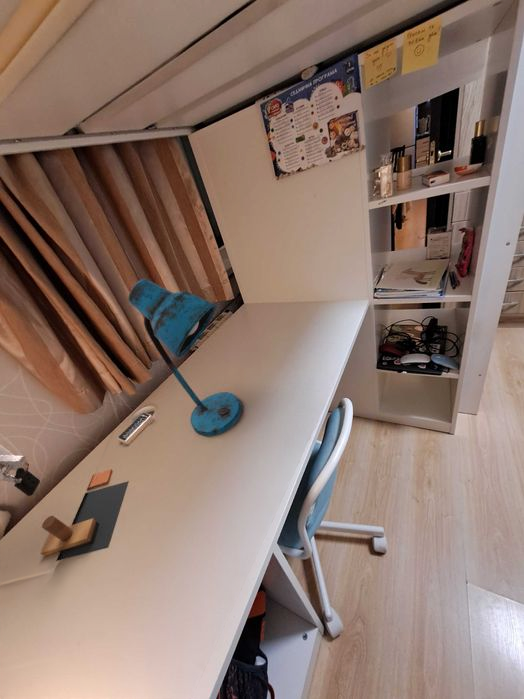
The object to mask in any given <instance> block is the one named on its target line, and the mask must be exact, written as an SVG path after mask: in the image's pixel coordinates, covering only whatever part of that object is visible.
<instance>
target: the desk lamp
mask: <svg viewBox="0 0 524 699" xmlns="http://www.w3.org/2000/svg"><path fill="white" fill-rule="evenodd" d="M127 297H128V303H129V304H130V305H131V306H133V307H134V308H135V309H136V310H137V311H138V312H139V313H140V314H142V316H144V317H143V326H144V328H145V330H146V333H147V334H148V336H149V338H150V340H151V342H152V344H153V345H154V347H155V349H156V351H157V352H158V353H159V355H160V356H161V358H162V359H163V362H165V364H166V365H167V367H168V368H169V370H170V371H171V373H172V374H173V375H174V377H175V379H176V380H177V381H178V383H179V384H180V385H181V386H182V388H183V389H184V391H185V392H186V393H187V395H188V396H189V397H190V399H191V400H192V401H193V403H194V404H195V405H196V406H195V407H194V409H193V410H192V412H191V416H190V424H191V426H192V429H193V430H194V432H195V433H196V434H198V435H200V436H203V437H213V436H217V435H220V434H222V433H225V432H226V431H228V430H230V429H231V428H232V427H233V426H234V425H235V424H236V423H237V422H238V420H239V419H240V416H241V414H242V409H243V408H242V403H241V401H240V399H239V397H237V396H236V395H235V394H233V393H232V392H227V391H226V392H218V393H217V392H216V393H214V394H211V395H209V396H207V397H205V398H204V399H202V400H201V399H200V398H199V397H198V396H197V394H196V392H195V391H194V390H193V389H192V388H191V387H190V385H189V384H188V382H187V381H186V380H185V378H184V376H183V375H182V374H181V373H180V371H179V370H178V368H177V367H176V365H175V364H174V362H173V360H171V358H170V356H169V354H168V353H167V351H166V350H165V348H167V350H168V351H170V352H171V353H172V354H173V355H174V357H176V359H180V358H182V357H183V356H184V355H185V354H186V353H187V352H188V351H189V350H190V349H191V348H192V347H193V346H194V344H195V343H196V342H197V341H198V339H199V337H201V335H202V334H203V332H204V331H205V330H206V328H207V326H208V325H209V324H210V322H211V320H212V318H213V316H214V314H215V312H216V309H217V305H216V304H215V303H213V302H210V301H209V300H207V299H205V298H203V297H200V296H198V295H196V294H194V293H192V292H189V291H187V290H183V291H179V292H172V291H170V290H168V289H166V288H164V287H162V286H161V285H158V284H157V283H155V282H153V281H151V280H149V279H147V278H143V279H140V280H138V281H137V282H136V283H135V284H134V285H133V286H132V288H131V289H130V291H129V293H128V296H127ZM163 346H164V347H165V348H164V347H163Z"/></svg>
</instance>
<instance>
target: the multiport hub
mask: <svg viewBox="0 0 524 699" xmlns="http://www.w3.org/2000/svg"><path fill="white" fill-rule="evenodd" d="M154 421H155V418H154V417H153V416H152V414H150V413H147V412H142V413H141V414H140V415H139V416H138V417H137V418H135V420H134V421H133V422H131V423H130V425H129V426H128V427H127V428H125V430H123V431H122V432H121V433H120V434H119V435H118V436H117V439H118V441H119V442H120V443H123V444H124V445H126V446H128V445H130V444H131V443H132V442H133V441H134V439H136V438H137V436H138V435H140V434H141V432H143V430H144V429H146V428H147V427H148V426H150V425H151V424H152V423H153V422H154Z"/></svg>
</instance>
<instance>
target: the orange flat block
mask: <svg viewBox="0 0 524 699" xmlns="http://www.w3.org/2000/svg"><path fill="white" fill-rule="evenodd" d="M97 474H98V473H94V474H92V476H91V479H90V482H89V483H88V486H87V488H86V491H87V492H88V491H91V490H93V489H96V488H95V487H94V486H93V485H94V483H95V480H96V477H97Z"/></svg>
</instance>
